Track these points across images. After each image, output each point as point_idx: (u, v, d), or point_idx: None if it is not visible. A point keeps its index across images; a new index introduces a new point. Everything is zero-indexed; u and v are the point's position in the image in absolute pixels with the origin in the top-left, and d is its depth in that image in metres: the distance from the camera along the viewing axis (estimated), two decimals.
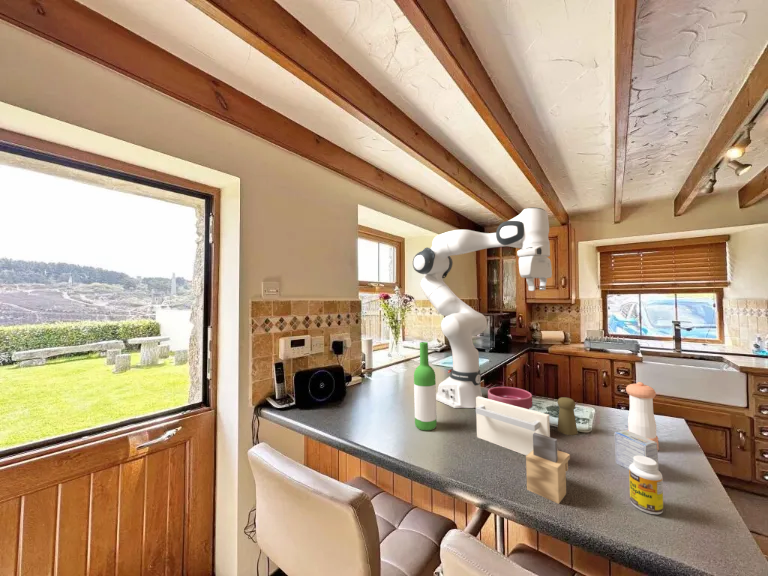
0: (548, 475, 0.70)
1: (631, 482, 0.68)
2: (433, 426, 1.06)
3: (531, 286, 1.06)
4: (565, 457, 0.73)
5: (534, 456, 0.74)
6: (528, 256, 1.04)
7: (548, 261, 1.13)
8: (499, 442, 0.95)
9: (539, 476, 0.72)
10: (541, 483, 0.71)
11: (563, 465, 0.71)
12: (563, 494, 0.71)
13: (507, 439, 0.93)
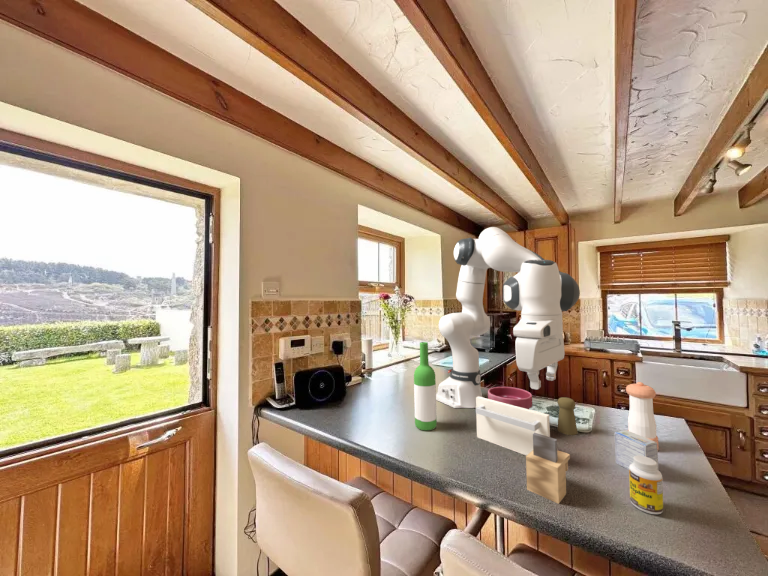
0: (548, 475, 0.70)
1: (631, 482, 0.68)
2: (433, 426, 1.06)
3: (535, 382, 0.69)
4: (565, 457, 0.73)
5: (534, 456, 0.74)
6: (530, 339, 0.67)
7: (559, 336, 0.77)
8: (499, 442, 0.95)
9: (539, 476, 0.72)
10: (541, 483, 0.71)
11: (563, 465, 0.71)
12: (563, 494, 0.71)
13: (507, 439, 0.93)
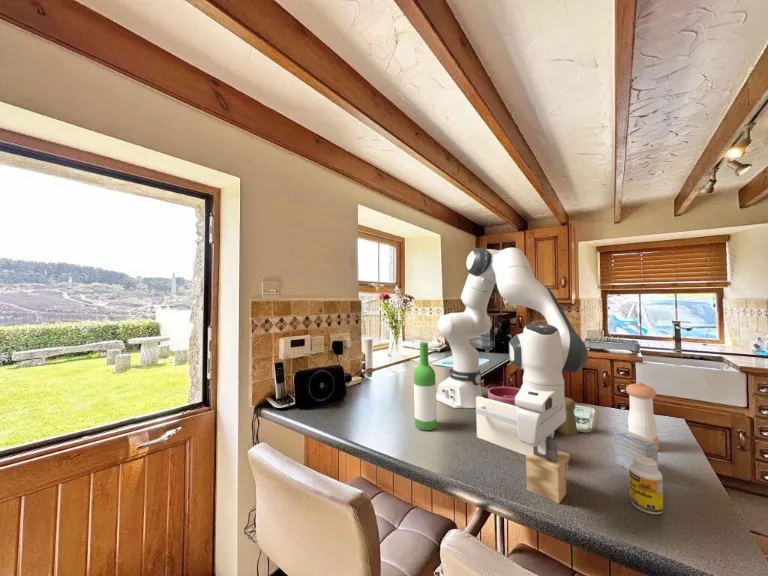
0: (548, 474, 0.70)
1: (631, 482, 0.68)
2: (433, 426, 1.06)
3: (542, 447, 0.71)
4: (565, 457, 0.73)
5: (534, 456, 0.74)
6: (532, 412, 0.67)
7: None
8: (499, 442, 0.95)
9: (539, 476, 0.72)
10: (541, 483, 0.71)
11: (563, 465, 0.71)
12: (563, 494, 0.71)
13: (507, 439, 0.93)
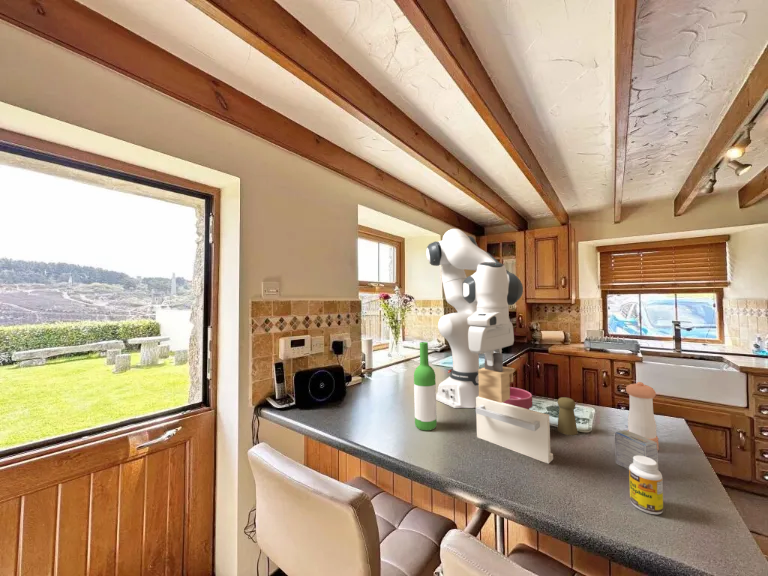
0: (494, 381, 0.86)
1: (631, 482, 0.68)
2: (433, 426, 1.06)
3: (490, 360, 0.88)
4: (510, 369, 0.89)
5: (485, 369, 0.90)
6: (479, 327, 0.83)
7: (509, 326, 0.92)
8: (499, 442, 0.95)
9: (488, 384, 0.88)
10: (489, 389, 0.88)
11: (507, 374, 0.87)
12: (506, 397, 0.87)
13: (507, 439, 0.93)
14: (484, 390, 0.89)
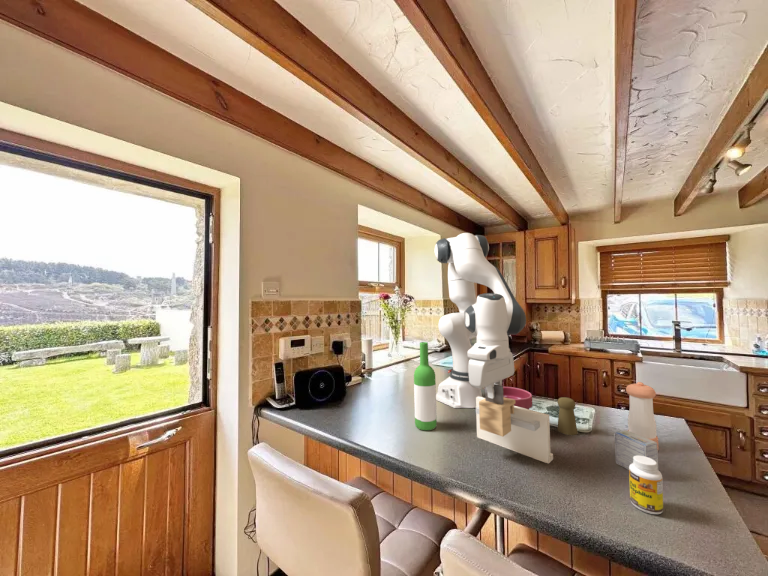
0: (495, 414, 0.86)
1: (631, 482, 0.68)
2: (433, 426, 1.06)
3: (490, 393, 0.87)
4: (510, 401, 0.89)
5: (485, 401, 0.90)
6: (479, 361, 0.83)
7: (509, 357, 0.92)
8: (499, 442, 0.95)
9: (489, 416, 0.88)
10: (490, 422, 0.87)
11: (508, 407, 0.87)
12: (508, 430, 0.87)
13: (507, 439, 0.93)
14: (485, 422, 0.88)
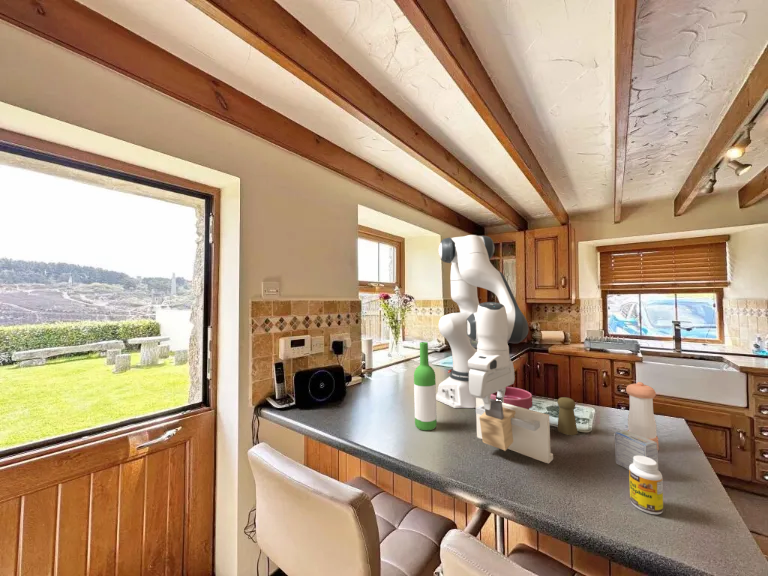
0: (496, 430, 0.87)
1: (631, 482, 0.68)
2: (433, 426, 1.06)
3: (487, 404, 0.86)
4: (510, 414, 0.89)
5: (486, 416, 0.90)
6: (479, 371, 0.83)
7: (509, 365, 0.92)
8: None
9: (490, 431, 0.88)
10: (492, 436, 0.88)
11: (508, 420, 0.87)
12: (510, 442, 0.88)
13: None
14: (487, 437, 0.89)
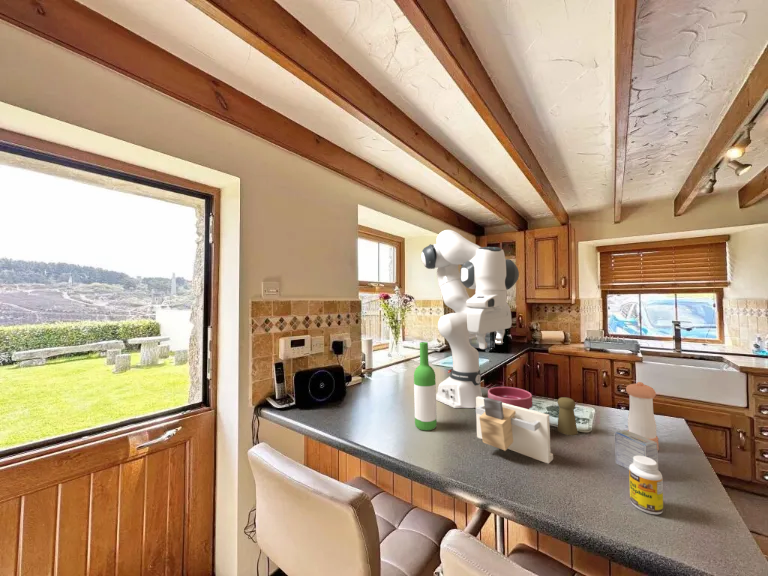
0: (496, 430, 0.87)
1: (631, 482, 0.68)
2: (433, 426, 1.06)
3: (482, 343, 0.88)
4: (510, 414, 0.89)
5: (486, 416, 0.90)
6: (478, 309, 0.86)
7: (506, 309, 0.95)
8: None
9: (490, 431, 0.88)
10: (492, 436, 0.88)
11: (508, 420, 0.87)
12: (510, 442, 0.88)
13: None
14: (487, 437, 0.89)
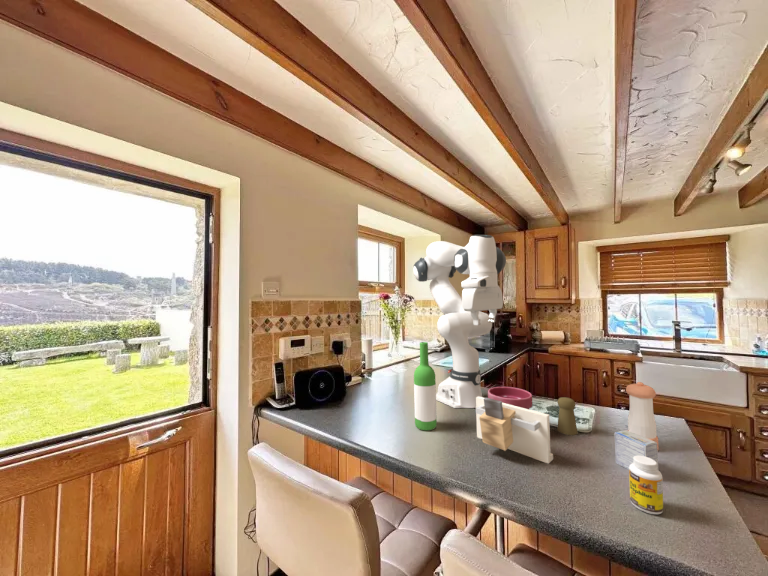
0: (496, 430, 0.87)
1: (631, 482, 0.68)
2: (433, 426, 1.06)
3: (476, 320, 0.98)
4: (510, 414, 0.89)
5: (486, 416, 0.90)
6: (471, 288, 0.96)
7: (498, 291, 1.05)
8: None
9: (490, 431, 0.88)
10: (492, 436, 0.88)
11: (508, 420, 0.87)
12: (510, 442, 0.88)
13: None
14: (487, 437, 0.89)
